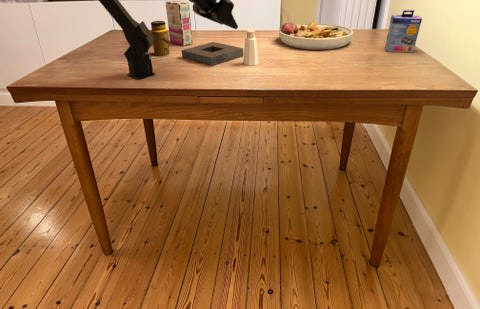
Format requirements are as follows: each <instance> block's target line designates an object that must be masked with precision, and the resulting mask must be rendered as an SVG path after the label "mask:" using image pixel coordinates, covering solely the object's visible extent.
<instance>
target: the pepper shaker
mask: <svg viewBox="0 0 480 309" xmlns="http://www.w3.org/2000/svg"><path fill="white" fill-rule="evenodd" d="M255 33H256V30H254V29H248V30H246V38H244V39H245V40H244V47H243V60H242V61H243V62H242V63H243V64H244V66H257V65H259V54H258V45H257V43H258V42H257V37H255V36H256V35H255Z"/></svg>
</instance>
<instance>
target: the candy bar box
mask: <svg viewBox="0 0 480 309" xmlns="http://www.w3.org/2000/svg"><path fill="white" fill-rule="evenodd" d="M164 3H165V9H166V10H165V11H166V18H167V26H168V34H169V36H168V37H169V42H170V43H172V44H175V45H179V46H182V47H185V46H190V45H193V34H192V22H191V11H190V2H185V1H178V0H168V1H164Z"/></svg>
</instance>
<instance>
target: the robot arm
mask: <svg viewBox="0 0 480 309" xmlns="http://www.w3.org/2000/svg"><path fill="white" fill-rule="evenodd" d="M188 1H189V3H193V4H192V12H194V13H195V14H196V15H197V16H200V17H203V18H204V19H207V20H210V21H211V22H215V23H217V24H219V25H224V26H227V27H229V28H232V29H234V30H237V29H238V28H239V25H238V23H237V21H236V19H235V16H234V14H233V10H234V7H235V3H233V1H231V0H219V1H218V0H188ZM98 2H99V3H100V4H101V5H102V7H103V8H104V9H105V10H106V11H107V12H108V13H109V15H110V16H111V18H112V19H113V20H114V21H115V22H116V23H117V24H118V27H120V28H121V30H122V32H123V36H124V37H125V40H126V41H127V43H128V45H129V46H128V48H127V49H126V51H125V52H123V56H124V57H125V58H126V60H127V67H128V73H127V76H128V77H131V78H133V79H135V80H142V79H145V78H148V77H151V76H154V75H156V73H155V72H154V71H153V70H154V69H153V63H152V59H151V57H150V56H149V55H148V53H149V50H150V48H152V47H153V36H152V35H151V33H152V31H151V29H149V27H148V26H147V25H146V23H145V22H144V21H143V20H142V21H140V22H138V21H136V20H135V19H134V18H133V17H132V15H130V13H129V12H128V11H127V10H126V8H125V7H124V5H123V4H122V3H121V2H120V1H119V0H98Z"/></svg>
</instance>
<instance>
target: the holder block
mask: <svg viewBox="0 0 480 309" xmlns="http://www.w3.org/2000/svg"><path fill="white" fill-rule="evenodd" d="M242 57H243V58H244V47H240V46H236V45H235V46H234V45H229V44H226V43H222V42H221V43H220V42H216V41H211V42H207V43H204V44H200V45H197V46H191V47H188V48H184V49H181V58H182V60H187V61H191V62H194V63H197V64H202V65H205V66H210V67H215V66H218V65H222V64H225V63H227V62H230V61H233V60H236V59H239V58H242Z"/></svg>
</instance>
